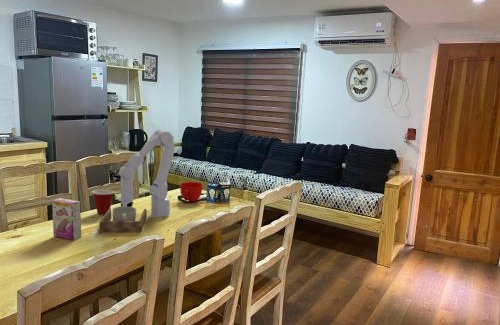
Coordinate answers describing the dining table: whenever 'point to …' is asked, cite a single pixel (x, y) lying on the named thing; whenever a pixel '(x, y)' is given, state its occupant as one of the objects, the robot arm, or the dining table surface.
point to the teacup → (124, 214)
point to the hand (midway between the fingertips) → (127, 216)
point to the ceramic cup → (191, 190)
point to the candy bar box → (66, 218)
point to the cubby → (121, 224)
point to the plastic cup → (103, 200)
